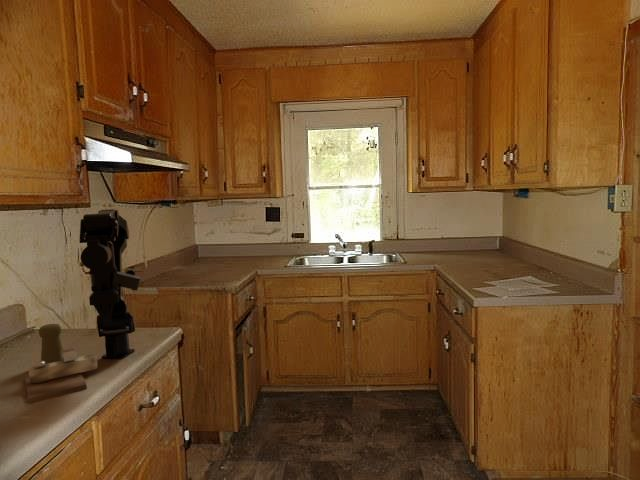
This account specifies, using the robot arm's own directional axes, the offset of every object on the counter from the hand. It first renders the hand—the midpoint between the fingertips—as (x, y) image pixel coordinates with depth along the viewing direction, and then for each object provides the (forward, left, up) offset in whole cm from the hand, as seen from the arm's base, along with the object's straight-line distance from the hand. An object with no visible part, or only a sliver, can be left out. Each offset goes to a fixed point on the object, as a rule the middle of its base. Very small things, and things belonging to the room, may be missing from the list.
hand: (107, 325), depth 118 cm
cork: (-4, -20, -12) cm, 24 cm away
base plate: (+8, -10, -12) cm, 17 cm away
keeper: (+5, -12, -12) cm, 18 cm away
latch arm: (+5, -9, -11) cm, 15 cm away
